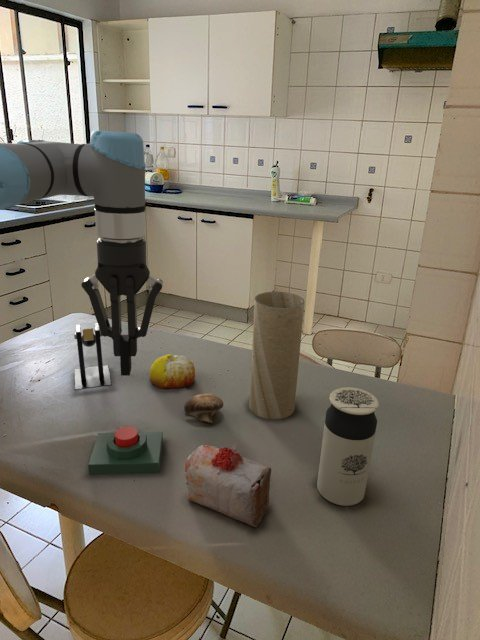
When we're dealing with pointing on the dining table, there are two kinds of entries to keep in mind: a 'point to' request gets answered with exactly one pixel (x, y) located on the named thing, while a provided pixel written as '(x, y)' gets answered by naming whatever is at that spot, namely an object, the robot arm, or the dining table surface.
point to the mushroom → (203, 406)
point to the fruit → (172, 372)
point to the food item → (228, 483)
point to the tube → (275, 353)
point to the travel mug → (347, 445)
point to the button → (126, 436)
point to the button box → (126, 454)
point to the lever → (88, 337)
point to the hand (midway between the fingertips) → (126, 371)
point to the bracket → (90, 375)
